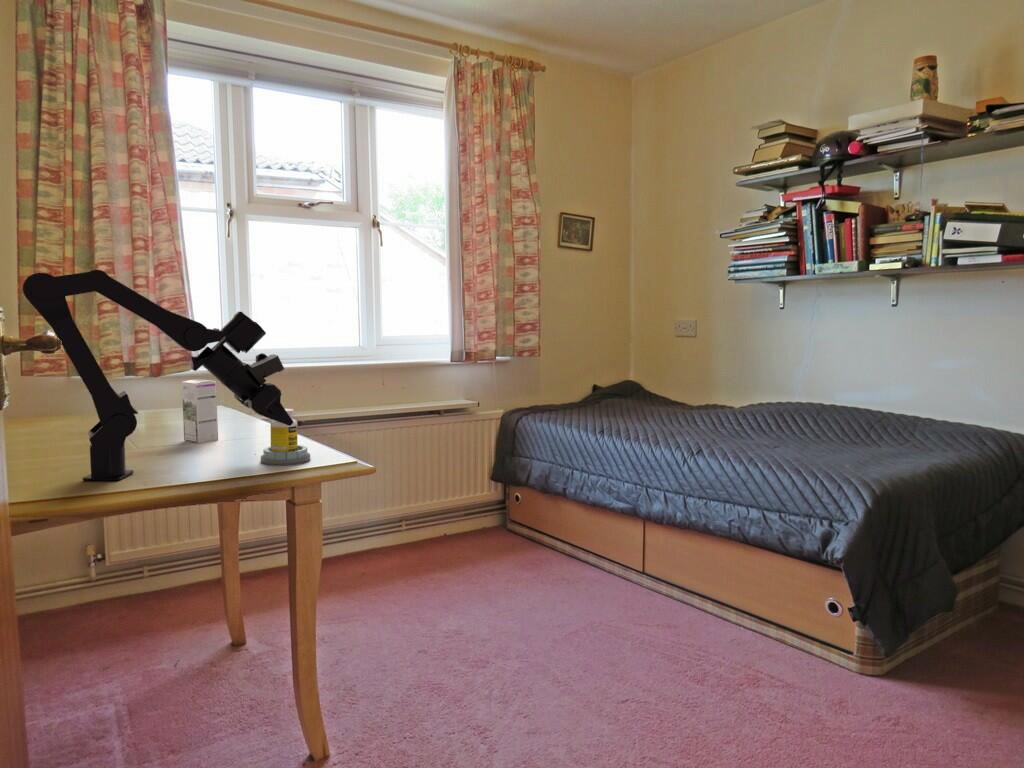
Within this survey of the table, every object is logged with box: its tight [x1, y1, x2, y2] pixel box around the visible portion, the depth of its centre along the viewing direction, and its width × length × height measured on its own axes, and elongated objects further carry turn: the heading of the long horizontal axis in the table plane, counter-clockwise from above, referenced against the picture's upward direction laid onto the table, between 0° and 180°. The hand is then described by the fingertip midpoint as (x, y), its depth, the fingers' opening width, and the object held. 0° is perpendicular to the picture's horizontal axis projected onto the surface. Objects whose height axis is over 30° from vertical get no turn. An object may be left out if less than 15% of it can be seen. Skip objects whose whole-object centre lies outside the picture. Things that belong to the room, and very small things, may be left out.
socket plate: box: [260, 444, 311, 466], centre depth 151 cm, size 10×10×2 cm
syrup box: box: [181, 379, 219, 444], centre depth 170 cm, size 6×6×14 cm
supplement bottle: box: [270, 408, 298, 452], centre depth 150 cm, size 5×5×10 cm
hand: (286, 420), depth 150 cm, fingers open, 9 cm apart
